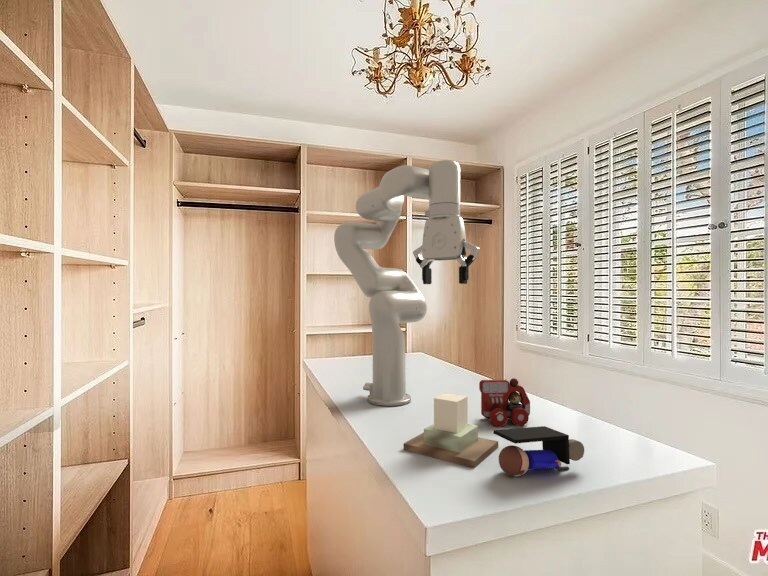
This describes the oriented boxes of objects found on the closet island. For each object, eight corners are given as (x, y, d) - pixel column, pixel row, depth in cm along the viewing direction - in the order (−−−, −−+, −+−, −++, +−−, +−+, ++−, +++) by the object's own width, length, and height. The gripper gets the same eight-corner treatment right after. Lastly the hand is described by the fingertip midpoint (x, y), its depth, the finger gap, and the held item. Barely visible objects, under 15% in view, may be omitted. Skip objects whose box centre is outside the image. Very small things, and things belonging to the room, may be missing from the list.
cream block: (434, 428, 83) (433, 398, 83) (445, 421, 87) (445, 393, 88) (457, 433, 81) (457, 401, 81) (467, 426, 85) (467, 396, 85)
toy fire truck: (536, 425, 98) (536, 381, 98) (485, 427, 97) (485, 382, 97) (523, 417, 105) (523, 375, 105) (475, 418, 104) (475, 376, 104)
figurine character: (555, 465, 80) (488, 468, 74) (558, 424, 80) (492, 424, 75) (584, 480, 73) (513, 484, 68) (587, 435, 74) (517, 436, 68)
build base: (403, 449, 83) (403, 428, 83) (432, 432, 93) (432, 413, 93) (474, 467, 75) (474, 444, 75) (498, 447, 84) (498, 426, 85)
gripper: (406, 215, 104) (406, 284, 104) (471, 206, 94) (471, 283, 94) (421, 219, 110) (421, 284, 110) (484, 211, 100) (484, 283, 100)
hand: (444, 283), depth 102 cm, fingers open, 9 cm apart
